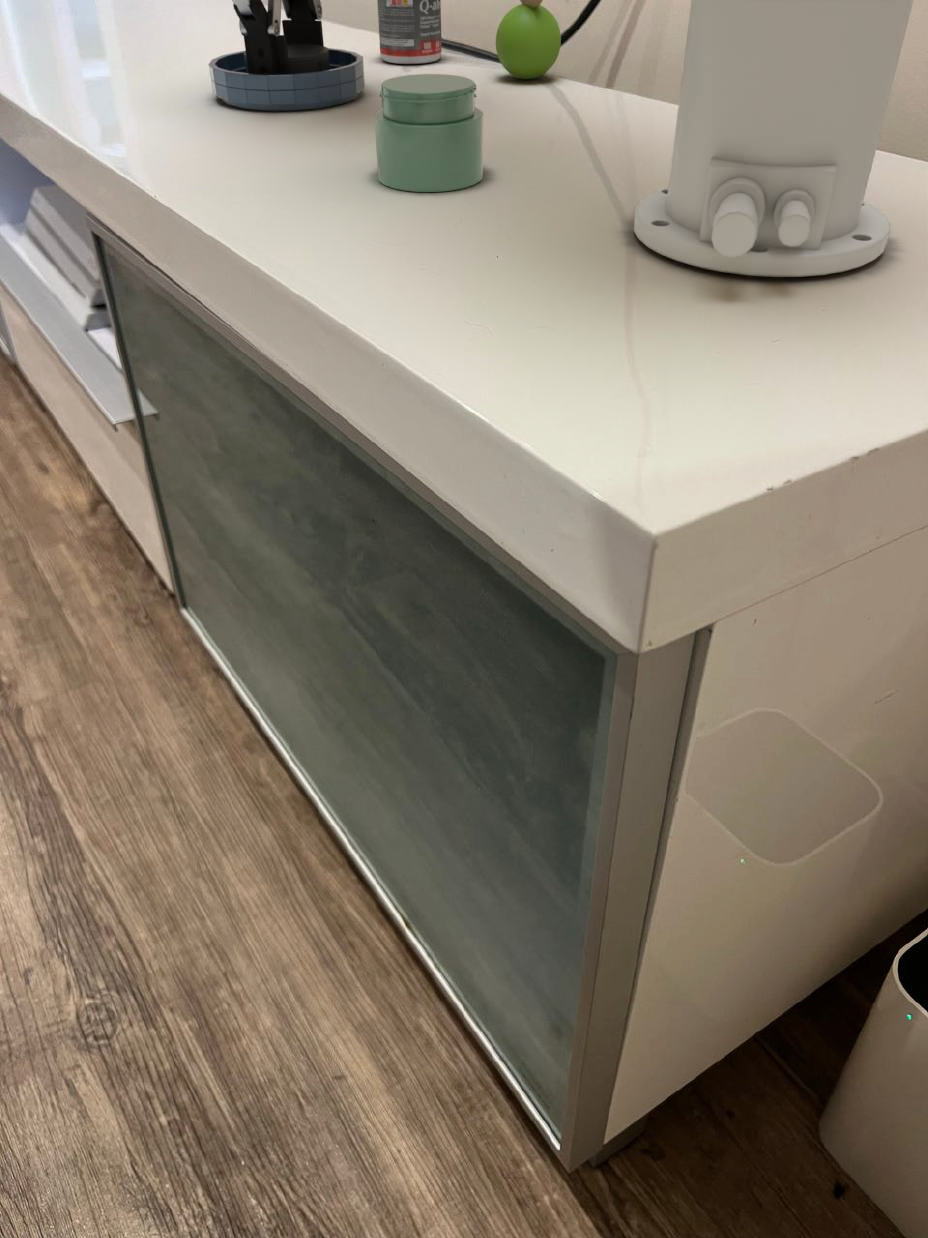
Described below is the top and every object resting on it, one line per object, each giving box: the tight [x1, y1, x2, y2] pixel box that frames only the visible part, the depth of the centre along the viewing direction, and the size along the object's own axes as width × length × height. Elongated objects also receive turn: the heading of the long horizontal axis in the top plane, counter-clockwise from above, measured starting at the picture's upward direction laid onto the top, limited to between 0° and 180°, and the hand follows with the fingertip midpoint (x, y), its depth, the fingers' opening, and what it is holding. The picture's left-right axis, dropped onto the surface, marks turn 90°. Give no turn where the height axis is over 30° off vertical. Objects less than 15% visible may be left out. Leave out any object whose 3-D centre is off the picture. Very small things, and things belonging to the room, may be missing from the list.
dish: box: [208, 47, 366, 112], centre depth 75 cm, size 12×12×2 cm
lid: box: [243, 44, 330, 74], centre depth 75 cm, size 7×7×2 cm
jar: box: [374, 73, 484, 193], centre depth 56 cm, size 6×6×5 cm
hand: (290, 83), depth 75 cm, fingers closed on lid, 6 cm apart
